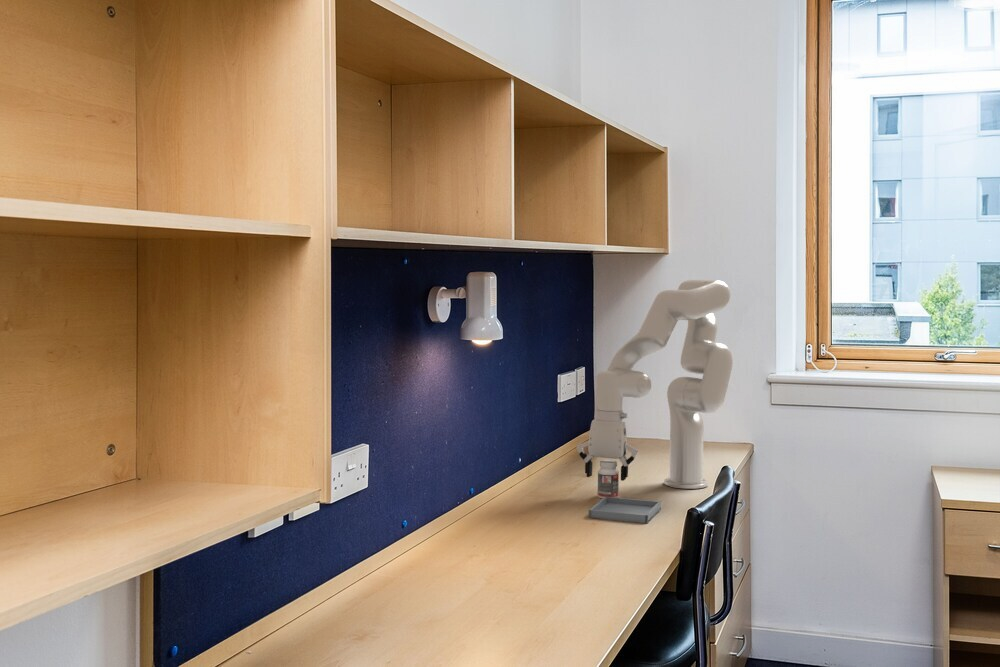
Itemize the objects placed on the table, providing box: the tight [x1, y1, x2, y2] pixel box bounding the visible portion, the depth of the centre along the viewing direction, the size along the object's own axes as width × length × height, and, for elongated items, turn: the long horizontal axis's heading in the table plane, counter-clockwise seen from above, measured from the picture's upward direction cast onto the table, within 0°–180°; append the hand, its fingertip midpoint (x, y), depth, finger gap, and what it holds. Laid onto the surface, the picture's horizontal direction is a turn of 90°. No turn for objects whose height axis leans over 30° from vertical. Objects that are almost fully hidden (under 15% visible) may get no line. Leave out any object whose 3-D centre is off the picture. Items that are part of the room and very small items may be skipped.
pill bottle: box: [597, 459, 620, 500], centre depth 267 cm, size 6×6×10 cm
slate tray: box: [588, 497, 662, 524], centre depth 249 cm, size 16×15×2 cm
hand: (606, 478), depth 267 cm, fingers open, 9 cm apart
